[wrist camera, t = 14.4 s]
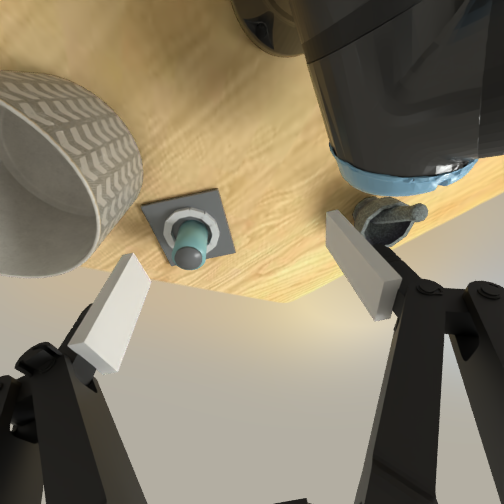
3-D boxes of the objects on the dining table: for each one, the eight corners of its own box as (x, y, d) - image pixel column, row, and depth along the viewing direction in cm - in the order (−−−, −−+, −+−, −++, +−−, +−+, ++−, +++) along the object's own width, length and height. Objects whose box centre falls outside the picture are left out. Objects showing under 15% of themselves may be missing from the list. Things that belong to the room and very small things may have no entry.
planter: (170, 144, 35) (133, 183, 21) (119, 228, 43) (64, 301, 28) (24, 32, 27) (-216, -36, 12) (-8, 161, 34) (-182, 216, 19)
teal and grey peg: (174, 222, 42) (165, 249, 35) (203, 217, 42) (200, 242, 35) (184, 246, 45) (177, 274, 38) (211, 241, 45) (209, 268, 38)
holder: (141, 204, 40) (138, 209, 39) (218, 188, 40) (217, 192, 39) (172, 263, 49) (170, 269, 47) (235, 250, 48) (235, 255, 47)
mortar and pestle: (378, 232, 49) (415, 267, 40) (338, 230, 48) (367, 266, 38) (403, 181, 43) (455, 209, 33) (358, 178, 42) (398, 205, 32)
